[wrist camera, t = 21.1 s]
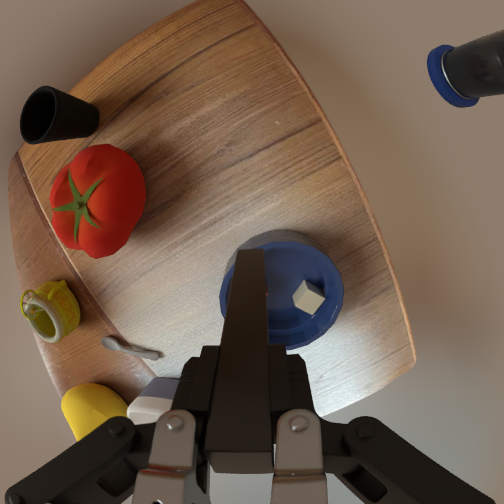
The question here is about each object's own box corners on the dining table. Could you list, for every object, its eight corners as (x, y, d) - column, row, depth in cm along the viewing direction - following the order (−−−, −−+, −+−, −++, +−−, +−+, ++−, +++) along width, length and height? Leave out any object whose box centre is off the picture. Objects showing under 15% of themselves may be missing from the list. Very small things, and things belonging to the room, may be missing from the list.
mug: (78, 334, 46) (50, 369, 34) (41, 304, 44) (9, 333, 32) (92, 292, 42) (56, 326, 31) (51, 258, 40) (10, 284, 29)
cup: (112, 121, 33) (65, 113, 22) (80, 153, 35) (30, 156, 23) (93, 89, 31) (46, 74, 20) (62, 120, 33) (14, 116, 21)
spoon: (102, 332, 45) (98, 338, 43) (159, 347, 46) (157, 353, 45) (103, 343, 46) (100, 349, 44) (159, 358, 47) (157, 365, 46)
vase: (65, 366, 49) (28, 418, 31) (125, 376, 49) (91, 443, 31) (94, 414, 55) (70, 463, 37) (151, 425, 55) (132, 484, 36)
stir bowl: (335, 227, 38) (348, 239, 33) (328, 324, 43) (336, 346, 38) (219, 232, 39) (213, 244, 33) (229, 329, 44) (226, 352, 38)
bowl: (150, 410, 52) (138, 446, 42) (137, 364, 47) (117, 403, 37) (215, 419, 52) (209, 458, 42) (212, 375, 47) (204, 419, 37)
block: (320, 288, 41) (325, 298, 38) (308, 304, 42) (312, 315, 39) (304, 279, 40) (307, 288, 37) (292, 295, 41) (294, 306, 38)
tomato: (174, 176, 36) (148, 182, 27) (123, 263, 40) (92, 289, 31) (104, 128, 33) (66, 123, 24) (63, 214, 38) (26, 228, 28)
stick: (263, 247, 21) (274, 450, 6) (264, 271, 22) (274, 473, 7) (237, 249, 21) (201, 449, 6) (239, 273, 22) (214, 473, 7)
